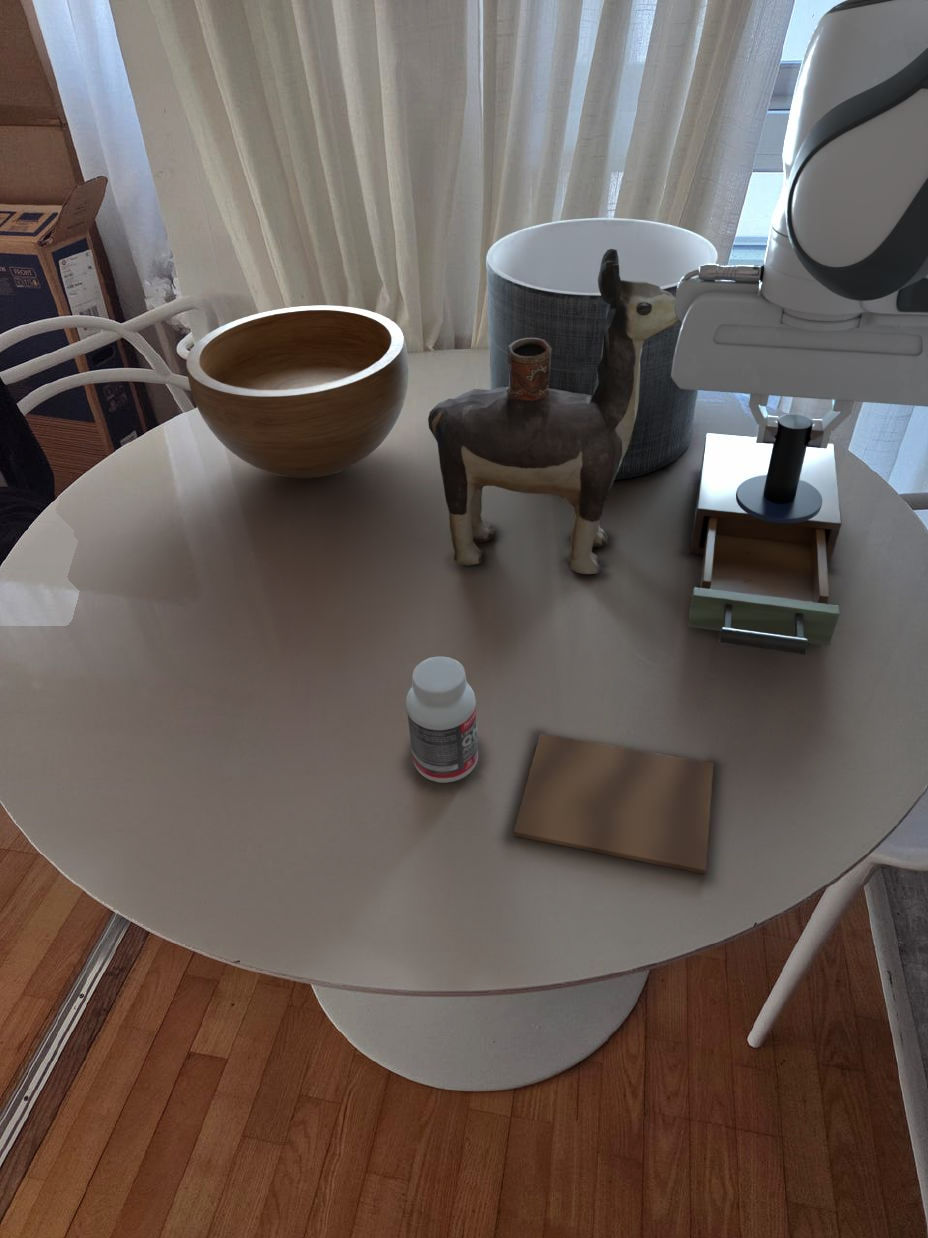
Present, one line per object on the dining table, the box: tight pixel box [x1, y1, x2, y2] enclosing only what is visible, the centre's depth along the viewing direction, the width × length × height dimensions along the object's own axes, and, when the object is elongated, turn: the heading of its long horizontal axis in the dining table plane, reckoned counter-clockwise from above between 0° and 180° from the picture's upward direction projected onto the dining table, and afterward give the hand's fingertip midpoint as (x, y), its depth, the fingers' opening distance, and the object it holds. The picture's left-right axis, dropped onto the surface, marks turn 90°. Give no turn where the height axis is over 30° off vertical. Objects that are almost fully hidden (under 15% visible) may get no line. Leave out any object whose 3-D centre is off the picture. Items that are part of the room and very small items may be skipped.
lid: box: [736, 413, 822, 524], centre depth 71 cm, size 7×7×8 cm
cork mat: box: [513, 733, 715, 875], centre depth 66 cm, size 14×10×1 cm
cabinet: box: [689, 432, 842, 571], centre depth 92 cm, size 16×14×6 cm
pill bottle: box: [405, 656, 479, 784], centre depth 67 cm, size 5×5×10 cm
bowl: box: [186, 305, 410, 479], centre depth 102 cm, size 25×25×15 cm
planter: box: [485, 217, 719, 481], centre depth 103 cm, size 25×25×22 cm
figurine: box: [427, 249, 678, 575], centre depth 82 cm, size 10×23×30 cm, turn 82°
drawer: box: [687, 516, 840, 656], centre depth 80 cm, size 19×12×4 cm, turn 165°
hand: (790, 442), depth 70 cm, fingers closed on lid, 2 cm apart
